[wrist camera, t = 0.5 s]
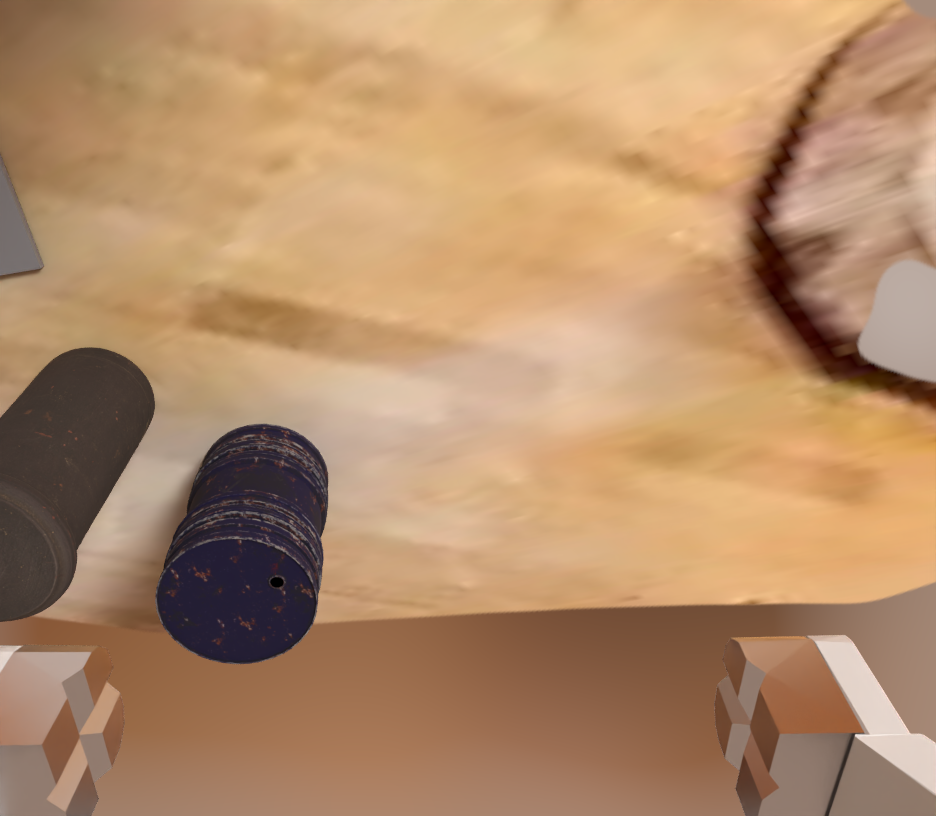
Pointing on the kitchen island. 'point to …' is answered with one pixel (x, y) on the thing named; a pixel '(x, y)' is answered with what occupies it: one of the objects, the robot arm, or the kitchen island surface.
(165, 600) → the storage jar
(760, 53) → the kitchen island surface
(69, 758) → the robot arm
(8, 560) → the container
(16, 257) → the coaster
